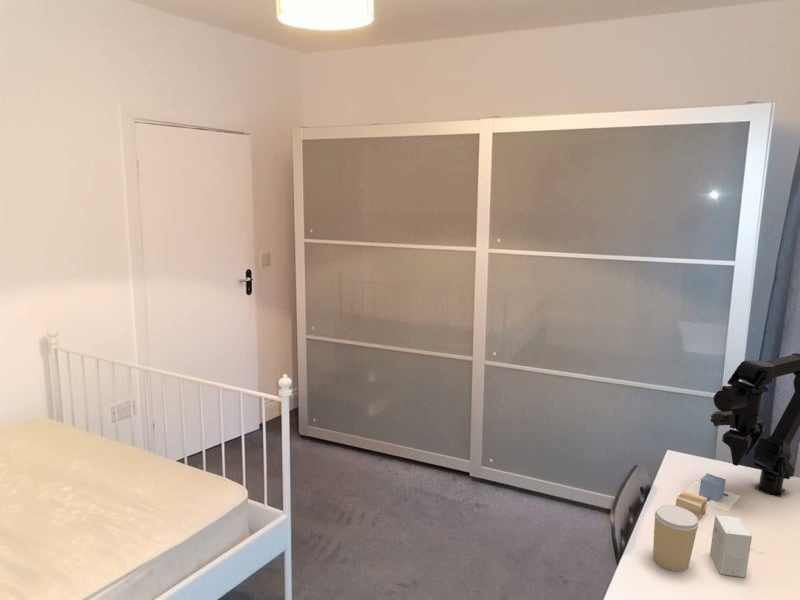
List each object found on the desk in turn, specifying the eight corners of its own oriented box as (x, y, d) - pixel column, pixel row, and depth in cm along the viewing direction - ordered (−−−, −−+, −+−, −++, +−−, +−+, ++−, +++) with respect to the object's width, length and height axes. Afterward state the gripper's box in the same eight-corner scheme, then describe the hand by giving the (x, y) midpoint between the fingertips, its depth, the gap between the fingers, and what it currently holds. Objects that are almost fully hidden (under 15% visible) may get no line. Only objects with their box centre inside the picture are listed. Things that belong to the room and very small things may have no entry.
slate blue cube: (704, 489, 176) (706, 473, 175) (723, 495, 173) (725, 479, 172) (698, 495, 173) (701, 479, 172) (717, 502, 169) (720, 485, 168)
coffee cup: (692, 556, 145) (698, 510, 143) (692, 578, 137) (699, 530, 134) (650, 545, 149) (656, 500, 147) (648, 566, 141) (654, 519, 138)
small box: (745, 578, 138) (752, 536, 135) (719, 574, 139) (725, 533, 137) (734, 557, 145) (740, 517, 143) (709, 554, 146) (715, 514, 144)
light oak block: (681, 506, 168) (684, 490, 167) (704, 515, 164) (707, 498, 163) (674, 515, 163) (676, 498, 162) (698, 523, 159) (700, 506, 158)
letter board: (695, 482, 181) (696, 480, 181) (740, 497, 173) (740, 496, 173) (681, 496, 173) (681, 494, 172) (727, 513, 164) (727, 511, 164)
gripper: (726, 391, 179) (719, 441, 182) (705, 407, 166) (698, 460, 169) (769, 402, 171) (761, 453, 174) (751, 419, 158) (742, 474, 161)
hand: (740, 459), depth 170 cm, fingers open, 9 cm apart
